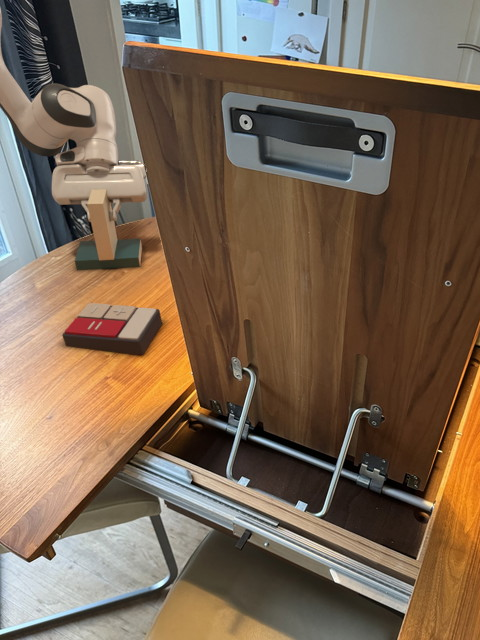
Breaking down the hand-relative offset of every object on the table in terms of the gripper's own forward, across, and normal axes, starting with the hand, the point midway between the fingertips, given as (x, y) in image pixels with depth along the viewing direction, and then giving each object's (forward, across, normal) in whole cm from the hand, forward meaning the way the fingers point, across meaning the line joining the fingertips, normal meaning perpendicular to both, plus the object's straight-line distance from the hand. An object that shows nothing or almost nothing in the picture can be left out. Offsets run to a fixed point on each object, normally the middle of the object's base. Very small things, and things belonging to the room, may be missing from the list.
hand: (102, 220), depth 115 cm
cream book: (+5, 0, -6) cm, 7 cm away
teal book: (+7, 0, -8) cm, 10 cm away
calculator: (+29, -4, +14) cm, 33 cm away
